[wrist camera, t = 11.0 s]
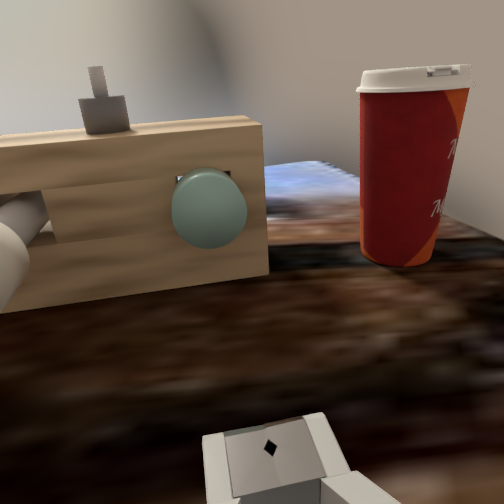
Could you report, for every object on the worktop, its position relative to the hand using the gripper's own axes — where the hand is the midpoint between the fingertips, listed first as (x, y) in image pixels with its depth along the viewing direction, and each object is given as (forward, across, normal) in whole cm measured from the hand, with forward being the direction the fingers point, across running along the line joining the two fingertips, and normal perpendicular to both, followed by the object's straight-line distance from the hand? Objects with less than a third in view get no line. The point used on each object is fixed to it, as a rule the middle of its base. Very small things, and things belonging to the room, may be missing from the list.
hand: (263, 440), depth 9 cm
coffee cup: (+22, -16, +7) cm, 28 cm away
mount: (+25, +6, +7) cm, 27 cm away
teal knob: (+24, 0, +2) cm, 24 cm away
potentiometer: (+25, +6, -5) cm, 26 cm away
